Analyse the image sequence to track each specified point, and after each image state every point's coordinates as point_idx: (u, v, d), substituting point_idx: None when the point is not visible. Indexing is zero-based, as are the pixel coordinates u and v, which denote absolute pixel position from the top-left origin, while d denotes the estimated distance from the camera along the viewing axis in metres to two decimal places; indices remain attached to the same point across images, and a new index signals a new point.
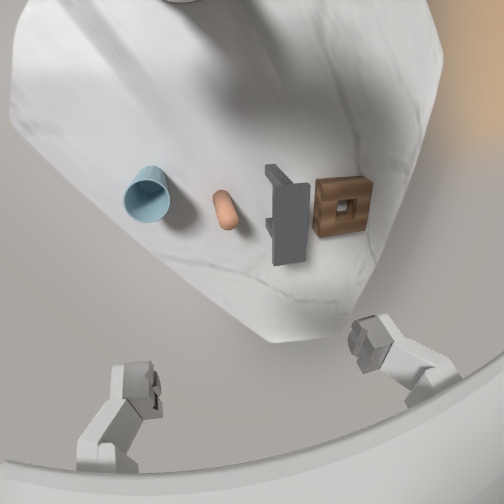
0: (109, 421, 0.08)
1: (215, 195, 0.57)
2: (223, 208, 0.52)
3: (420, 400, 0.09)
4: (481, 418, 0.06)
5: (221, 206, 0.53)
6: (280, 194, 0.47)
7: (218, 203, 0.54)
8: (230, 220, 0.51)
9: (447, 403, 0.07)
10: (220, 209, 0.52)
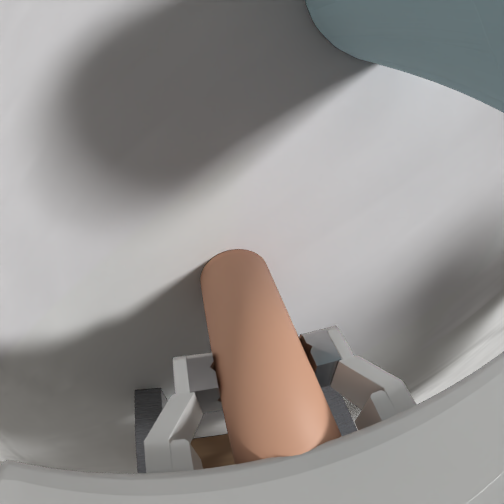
0: (178, 416, 0.08)
1: (264, 269, 0.14)
2: (330, 410, 0.08)
3: (367, 424, 0.08)
4: (481, 418, 0.06)
5: (317, 381, 0.09)
6: None
7: (297, 340, 0.10)
8: None
9: (447, 403, 0.07)
10: (323, 399, 0.08)
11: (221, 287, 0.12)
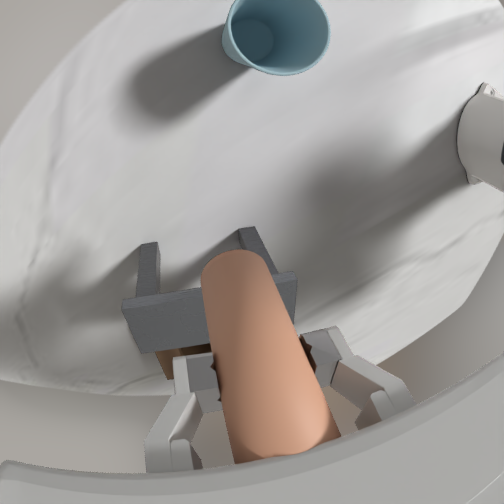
0: (178, 416, 0.08)
1: (264, 269, 0.14)
2: None
3: (367, 424, 0.08)
4: (481, 418, 0.06)
5: None
6: (284, 290, 0.26)
7: (296, 340, 0.10)
8: None
9: (447, 403, 0.07)
10: (322, 398, 0.08)
11: (221, 287, 0.12)
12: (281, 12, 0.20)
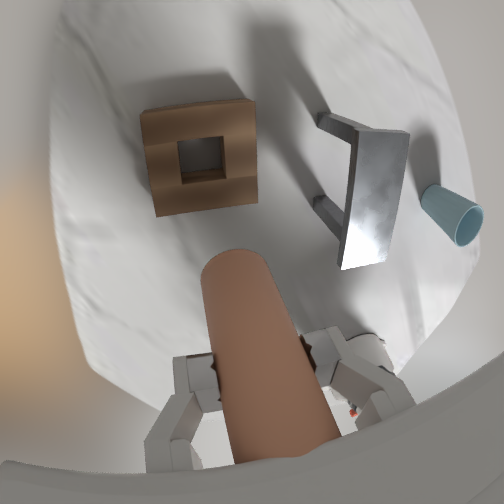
0: (178, 416, 0.08)
1: (264, 269, 0.14)
2: None
3: (367, 424, 0.08)
4: (481, 418, 0.06)
5: (317, 381, 0.09)
6: (381, 254, 0.32)
7: (297, 341, 0.10)
8: None
9: (447, 403, 0.07)
10: (323, 399, 0.08)
11: (221, 287, 0.12)
12: None
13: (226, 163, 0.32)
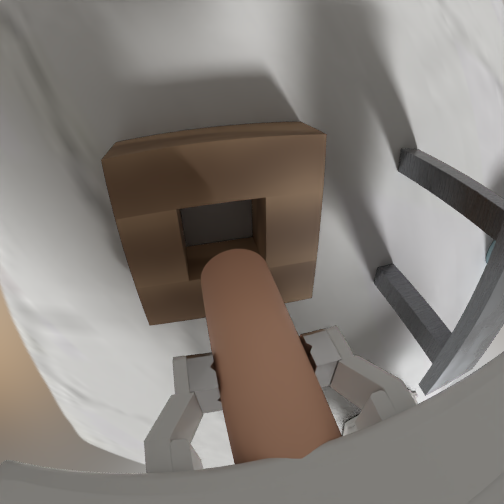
0: (178, 416, 0.08)
1: (264, 268, 0.14)
2: (330, 411, 0.08)
3: (367, 424, 0.08)
4: (481, 418, 0.06)
5: (317, 381, 0.09)
6: (471, 365, 0.19)
7: (297, 340, 0.10)
8: None
9: (447, 403, 0.07)
10: (323, 399, 0.08)
11: (221, 287, 0.12)
12: None
13: (267, 244, 0.19)
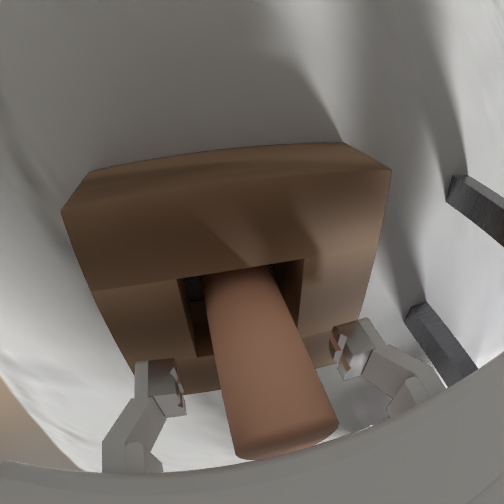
0: (135, 420, 0.08)
1: None
2: None
3: (401, 409, 0.09)
4: (481, 418, 0.06)
5: (305, 348, 0.10)
6: None
7: (286, 312, 0.11)
8: (292, 443, 0.08)
9: (447, 403, 0.07)
10: (310, 363, 0.10)
11: None
12: None
13: (300, 313, 0.14)
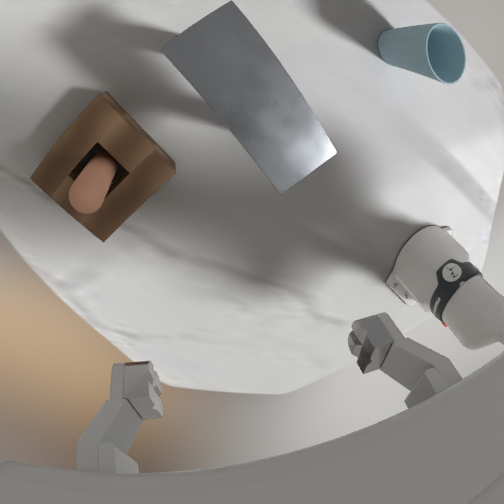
0: (109, 421, 0.08)
1: (103, 151, 0.29)
2: (97, 172, 0.24)
3: (420, 400, 0.09)
4: (481, 418, 0.06)
5: (97, 167, 0.25)
6: (322, 149, 0.23)
7: (97, 162, 0.26)
8: (88, 196, 0.23)
9: (447, 403, 0.07)
10: (92, 170, 0.24)
11: None
12: (432, 55, 0.27)
13: (118, 161, 0.28)
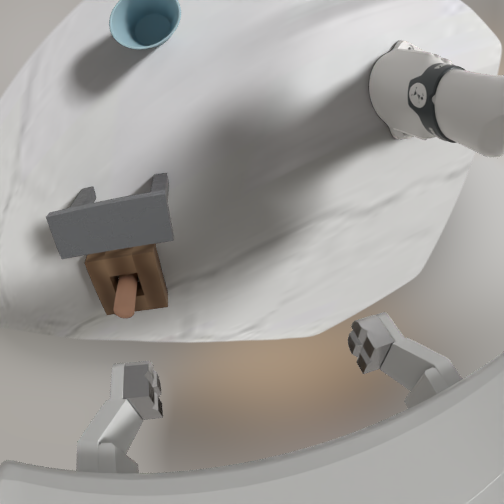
0: (109, 421, 0.08)
1: None
2: (118, 295, 0.44)
3: (420, 400, 0.09)
4: (481, 418, 0.06)
5: (118, 291, 0.45)
6: (156, 203, 0.32)
7: (118, 285, 0.46)
8: (124, 309, 0.43)
9: (447, 403, 0.07)
10: (116, 295, 0.44)
11: None
12: (163, 5, 0.25)
13: (126, 273, 0.47)
